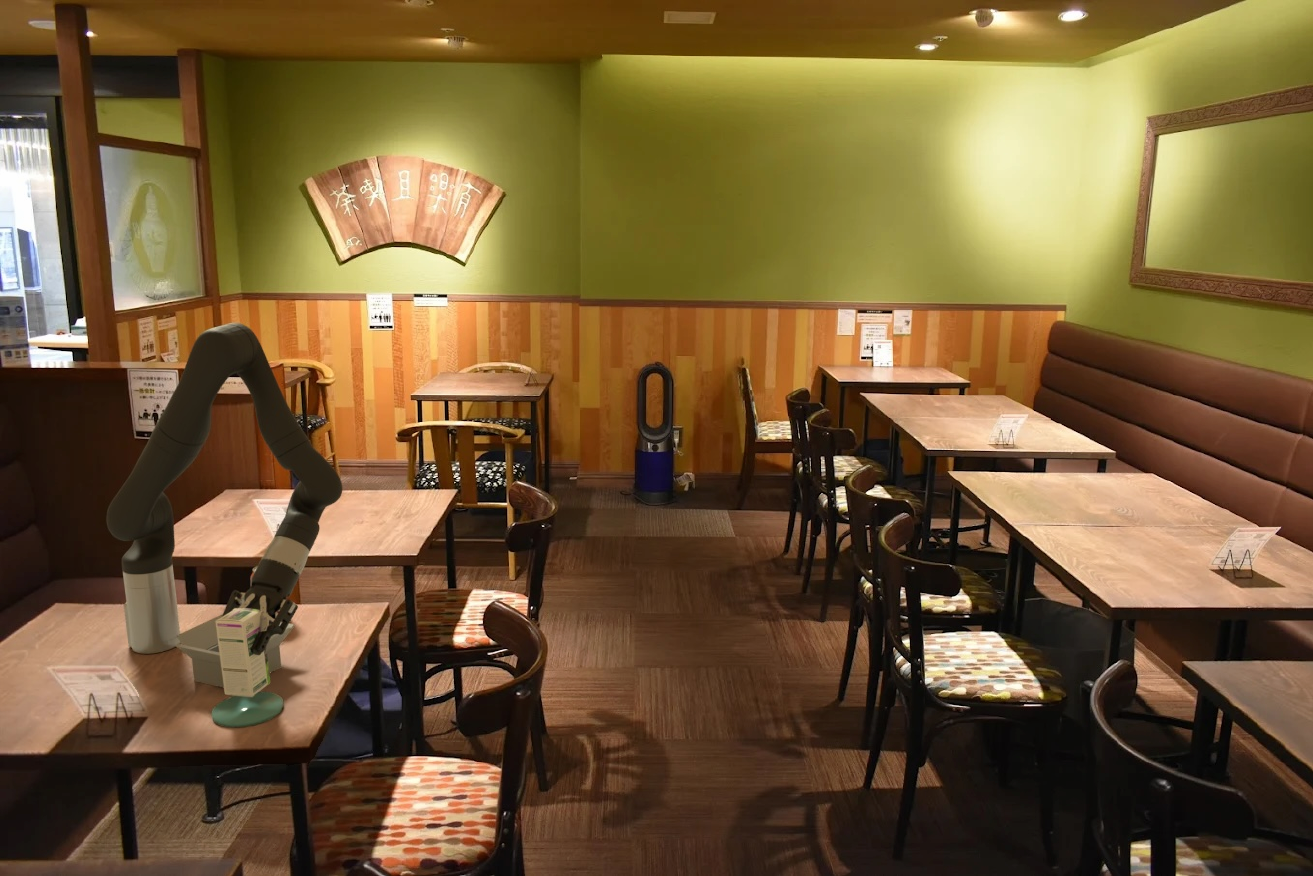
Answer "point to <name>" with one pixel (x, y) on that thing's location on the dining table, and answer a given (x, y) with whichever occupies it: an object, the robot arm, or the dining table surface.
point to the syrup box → (241, 653)
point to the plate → (247, 710)
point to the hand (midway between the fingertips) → (239, 650)
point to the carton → (206, 654)
